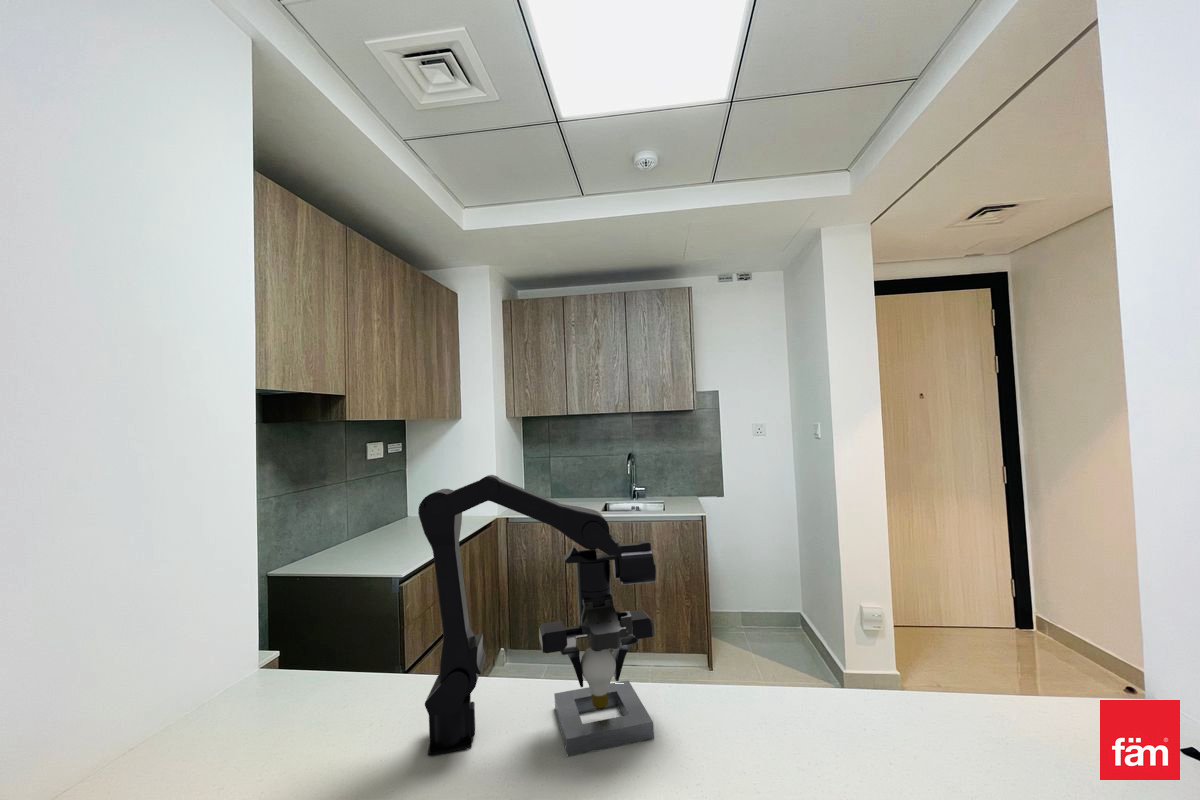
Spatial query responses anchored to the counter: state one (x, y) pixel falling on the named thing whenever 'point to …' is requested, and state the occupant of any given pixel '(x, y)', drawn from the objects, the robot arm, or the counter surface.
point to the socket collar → (603, 732)
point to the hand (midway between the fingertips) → (599, 683)
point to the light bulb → (598, 674)
